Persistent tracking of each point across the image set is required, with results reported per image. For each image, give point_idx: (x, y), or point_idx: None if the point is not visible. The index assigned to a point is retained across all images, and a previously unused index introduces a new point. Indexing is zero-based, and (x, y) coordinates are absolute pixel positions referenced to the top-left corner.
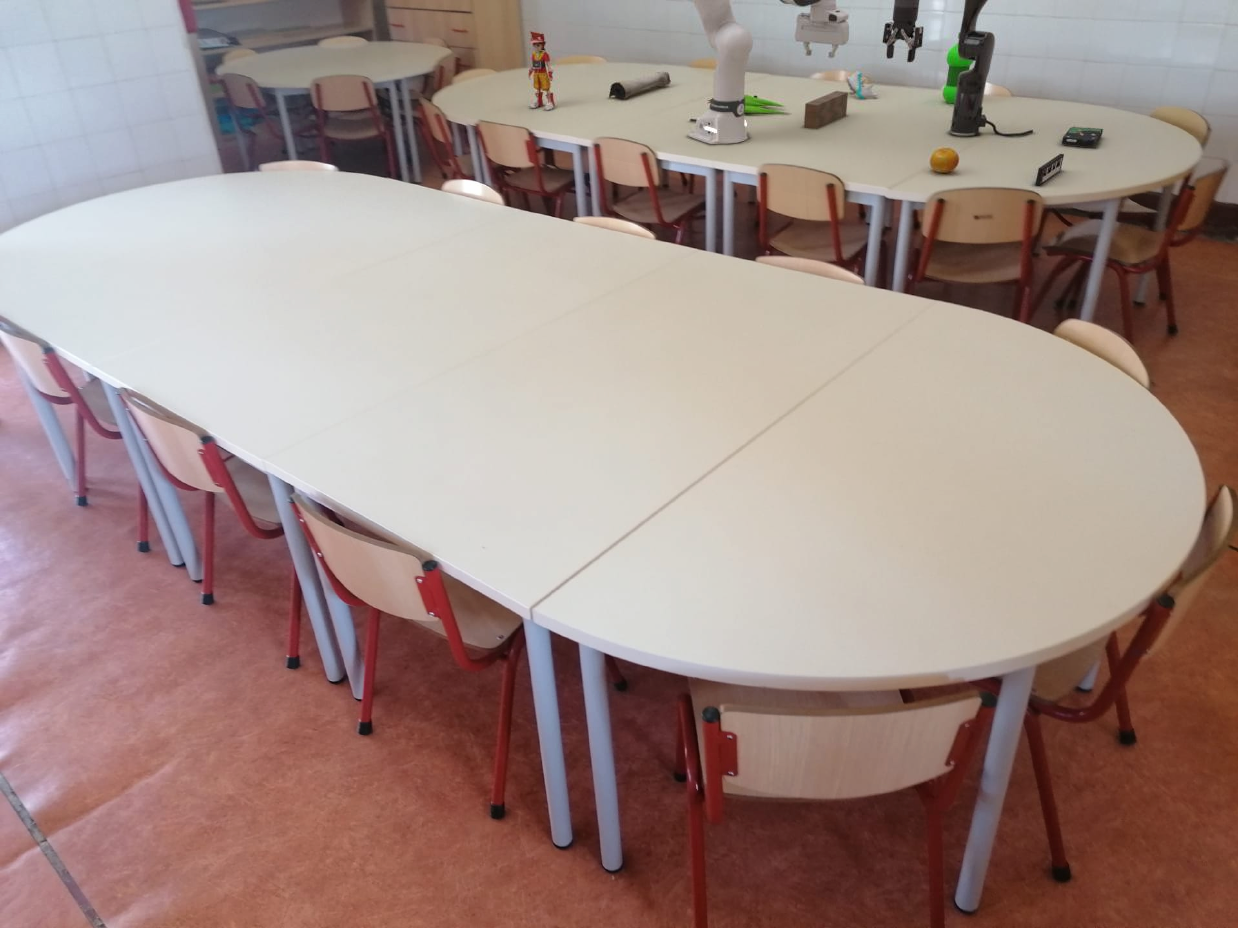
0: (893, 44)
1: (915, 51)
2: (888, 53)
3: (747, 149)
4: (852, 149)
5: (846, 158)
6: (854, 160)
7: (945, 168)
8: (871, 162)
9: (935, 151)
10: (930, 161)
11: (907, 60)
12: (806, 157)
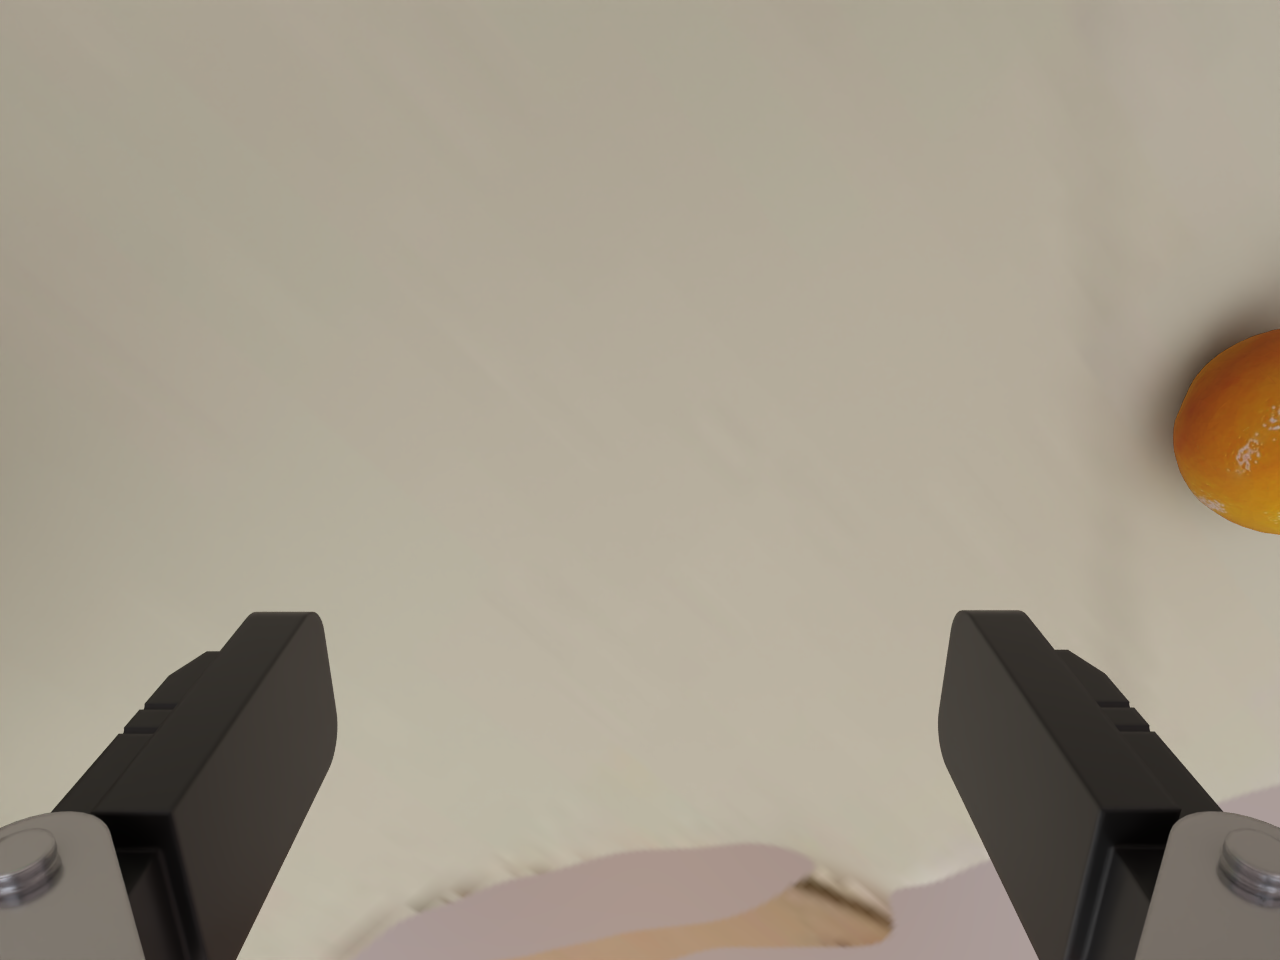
0: (100, 852)
1: (1209, 800)
2: (277, 839)
3: None
4: (420, 446)
5: (558, 617)
6: (627, 612)
7: None
8: (736, 570)
9: (1265, 498)
10: (1211, 509)
11: (958, 775)
12: (376, 760)
